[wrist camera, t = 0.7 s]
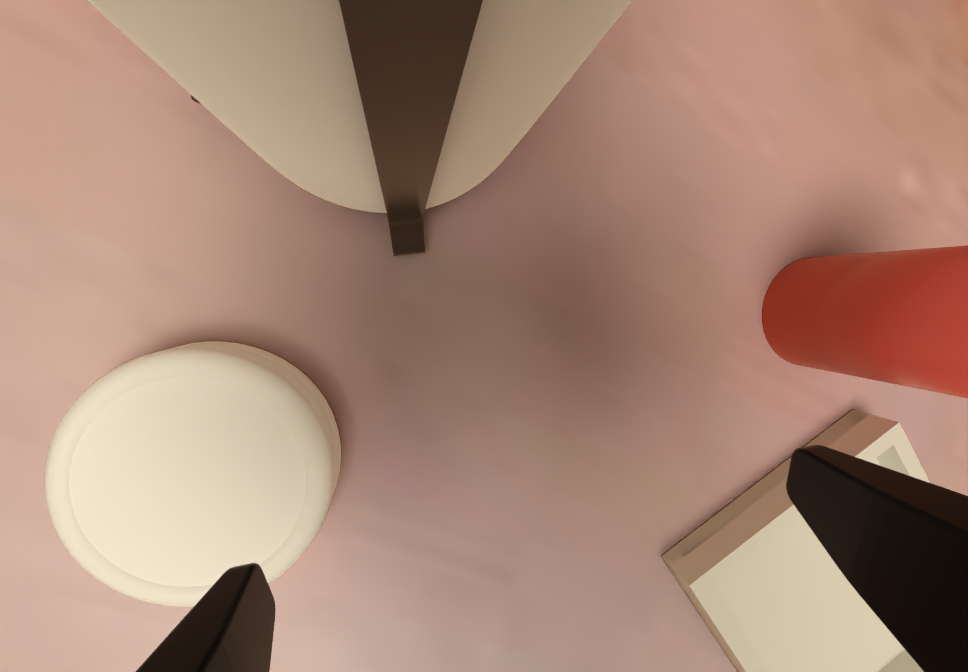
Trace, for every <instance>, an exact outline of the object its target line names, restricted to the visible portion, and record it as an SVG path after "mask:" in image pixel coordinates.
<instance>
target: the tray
mask: <svg viewBox="0 0 968 672" xmlns="http://www.w3.org/2000/svg"><path fill="white" fill-rule="evenodd" d="M812 445H822V446H825V447H828V448H831V449H834V450H837V451H840V452H843V453H845V454H848V455H851V456H854V457H857V458H860V459H863V460H866V461H868V462H871V463H874V464H877V465H880V466H883V467H886V468H888V469H891V470H894V471H897V472H900V473H903V474H906V475H908V476H911V477H914V478H917V479H920V480H923V481H926V482H928V483H930V481H929V479H928V477H927V476H926V474H925V472H924V470H923V468H922V466H921V464H920V462H919V460H918V458H917V456H916V454H915V452H914V450H913V448H912V446H911V444H910V442H909V440H908V438H907V436H906V435H905V433H904V431H903V429H902V427H901V425H900V423H899V422H896V421H893V420H889V419H885V418H882V417H878V416H874V415H871V414H867V413H863V412H860V411H856V410H851V411H850V412H849V413H847V414H846V415H845V416H843V417H842V418H841V419H839V420H838V421H837V422H835V423H834V424H833V425H832V426H830V427H829V428H828V429H826V430H825V431H824V432H822V433H821V434H820V435H819V436H817V437H816V438H815V439H813V440H812V441H811V442H809V443H808V444H807V445H805V446H804V447H807V446H812ZM790 461H791V457H790V458H789V459H787V460H786V461H785V462H783V463H782V464H781V465H779V466H778V467H777V468H776V469H774V470H773V471H772V472H770V473H769V474H768V475H766V476H765V477H764V478H762V479H761V480H760V481H759V482H757V483H756V484H755V485H753V486H752V487H751V488H749V489H748V490H747V491H746V492H744V493H743V494H742V495H740V496H739V497H738V498H736V499H735V500H734V501H733V502H731V503H730V504H729V505H727V506H726V507H725V508H723V509H722V510H721V511H719V512H718V513H717V514H716V515H714V516H713V517H712V518H710V519H709V520H708V521H706V522H705V523H704V524H703V525H701V526H700V527H699V528H697V529H696V530H695V531H693V532H692V533H691V534H689V535H688V536H687V537H686V538H684V539H683V540H682V541H680V542H679V543H678V544H676V545H675V546H674V547H673V548H671V549H670V550H669V551H667V552H666V553H665V554H663V555H662V556H661V557H662V558H663V560H664V561H665V563H666V564H667V566H668V567H669V569H670V570H671V572H672V573H673V575H674V576H675V578H676V579H677V581H678V582H679V584H680V585H681V587H682V589H683V590H684V592H685V593H686V595H687V596H688V598H689V599H690V601H691V602H692V604H693V605H694V607H695V608H696V610H697V611H698V613H699V614H700V616H701V617H702V619H703V620H704V622H705V623H706V625H707V626H708V628H709V629H710V631H711V632H712V634H713V635H714V637H715V638H716V640H717V641H718V643H719V644H720V646H721V647H722V649H723V650H724V652H725V653H726V655H727V657H728V658H729V660H730V661H731V663H732V664H733V666H734V667H735V669H736V670H737V672H924V671H923V670H922V669H921V668H920V667H919V665H918V664H917V663H916V662H915V661H914V659H913V658H912V657H911V656H910V655H909V654H908V652H907V651H906V650H905V649H904V648H903V646H902V645H901V644H900V643H899V642H898V640H897V639H896V638H895V637H894V636H893V634H892V633H891V632H890V631H889V630H888V629H887V627H886V626H885V625H884V624H883V623H882V621H881V620H880V619H879V618H878V617H877V615H876V614H875V613H874V612H873V611H872V609H871V608H870V607H869V606H868V605H867V604H866V602H865V601H864V600H863V599H862V598H861V596H860V595H859V594H858V593H857V591H856V590H855V589H854V588H853V587H852V585H851V584H850V583H849V582H848V580H847V579H846V578H845V576H844V575H843V573H842V572H841V571H840V569H839V568H838V567H837V565H836V564H835V562H834V561H833V560H832V558H831V557H830V555H829V554H828V553H827V551H826V550H825V548H824V547H823V545H822V544H821V543H820V541H819V540H818V538H817V537H816V536H815V534H814V533H813V531H812V530H811V528H810V527H809V526H808V524H807V523H806V521H805V520H804V519H803V517H802V516H801V514H800V513H799V511H798V510H797V509H796V507H795V506H794V504H793V503H792V502H791V500H790V498H789V496H788V494H787V490H786V482H787V477H788V472H789V466H790Z"/></svg>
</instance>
